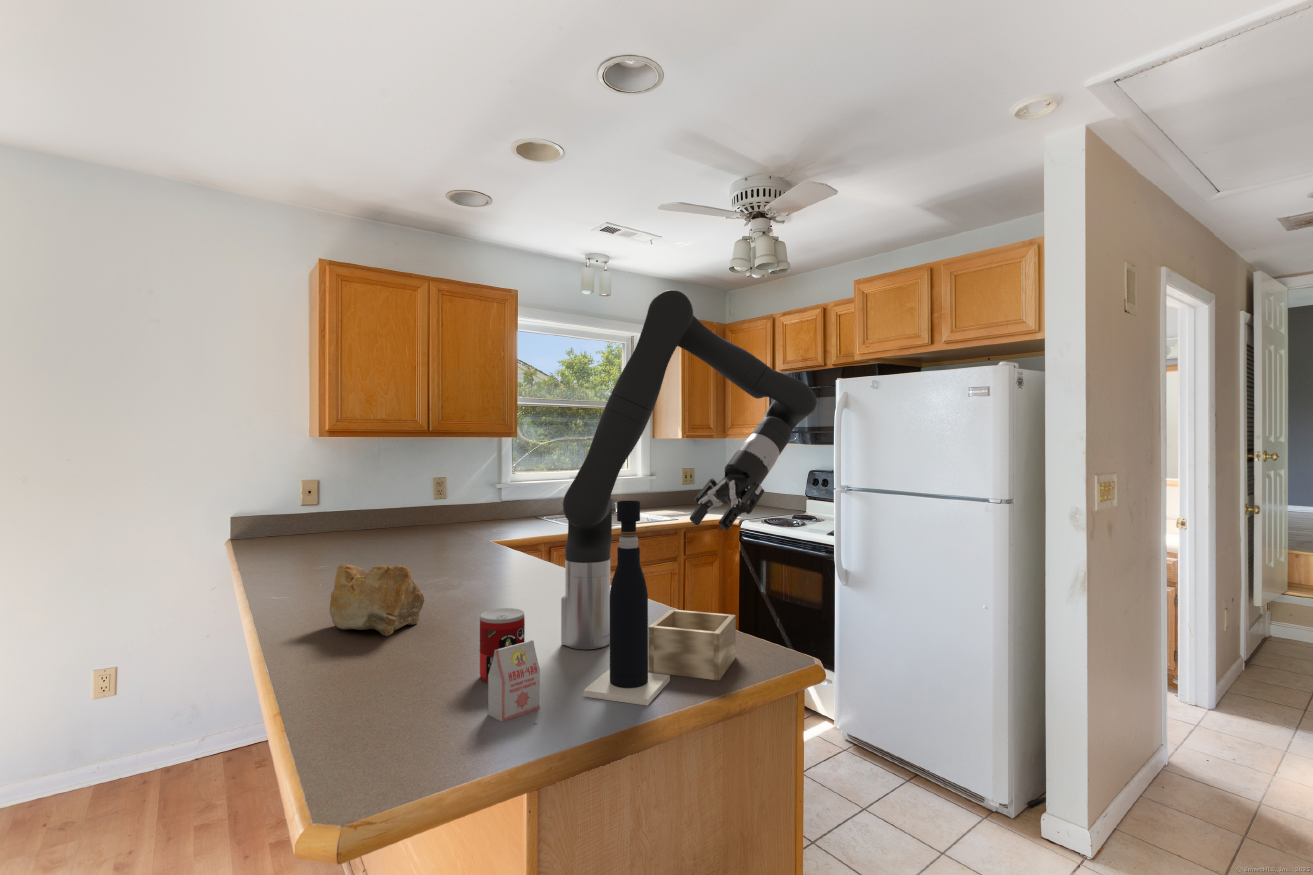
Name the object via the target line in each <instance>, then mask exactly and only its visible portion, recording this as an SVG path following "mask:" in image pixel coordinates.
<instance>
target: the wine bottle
mask: <svg viewBox="0 0 1313 875" xmlns="http://www.w3.org/2000/svg"><path fill="white" fill-rule="evenodd" d="M616 521H617V522H620V524H621V525H620V526H621V527H620V534H621V535H620V536H619V539H618V541H619V542H618V545H619V547H617V551H616V552H617V554H616V555H617V558H616V559H617V560H616V561H617V565H616V567H615V571H614V574H613V577H612V581H611V583H610V644H609V669H610V683H611V684H612V685H614V686H616V687H620V688H637V687H641V686H643V685H645V684H646V683H647V682H648V673H649V661H648V627H649V594H648V588H647V582H646V579H645V575H644V571H643V569H642V565H641V555H640V554H641V547H639V542H638V541H639V540H640V539H639V538H638V536H637V535H635V534H636V533H637V522H640V521H641V501H638V500H619V501H617V502H616Z"/></svg>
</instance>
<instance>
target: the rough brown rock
mask: <svg viewBox="0 0 1313 875" xmlns="http://www.w3.org/2000/svg"><path fill="white" fill-rule="evenodd" d="M424 603H425V596H424V594H423V593H422V591H421V589H420V588H419V585H418V584H416V583H415V582H414V580H413V579H412V573H411V570H410V569H409V568H408V567H406V566H403V565H396V566H389V565H384V564H383V565H382V564H381V565H375V566H372V567H371V568H370V569H369V570H368V572H366V570H364V568H363V567H359V566H356V565H353V564H340V565H339V566H337V568H336V573H335V579H334V587H333V590H332V591H331V593H330V603H329V615H330V618H331V620H332V621H331V622H332V623H333V625H334V626H336V628H338V629H340V630H358V631H360V630H361V631H365V630H370V629H371V630H376V631H377V632H379V634H381V635H383V636H386V637H388V636H390V635H392V634H394V631H396V630H398V629H401V628H402V627H405V626H406V625H407V626H413V625H417V624H418V622H419V620H420V613H421V611H422V608H423V606H424Z"/></svg>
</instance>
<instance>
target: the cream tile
mask: <svg viewBox="0 0 1313 875" xmlns="http://www.w3.org/2000/svg"><path fill="white" fill-rule="evenodd" d="M670 678H671V675H670V674H662V673H654V672H648V682H647V683H646V684H645V685H643V686H641V687H637V688H620V687H616V686H614V685H612V684H611V683H610V668H609V669H608V670H607V671H605V672H604V673H603V674H601V675H600V676H599V677H598V678H596V679H595V680H594V681H593V682H592V683H591V684H589V685H588V686H587V687H586V688H585V689H583V697H584V698H592V699H598V700H606V701H614V702H621V703H628V704H633V705H642V706H647V707H648V706H649V705H650V704H651V702H652V701H653V700H654V699H655V698H656V697H657V696H658V695H659V693H660V692H661V691H662V690H663V689H664V688H665V687H666V686H667V685H668V684H669V682H670V681H671V679H670Z"/></svg>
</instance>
